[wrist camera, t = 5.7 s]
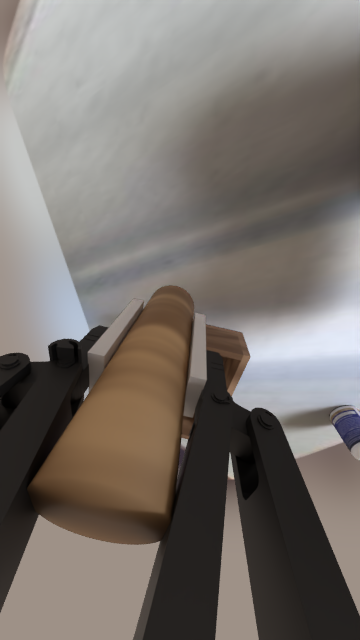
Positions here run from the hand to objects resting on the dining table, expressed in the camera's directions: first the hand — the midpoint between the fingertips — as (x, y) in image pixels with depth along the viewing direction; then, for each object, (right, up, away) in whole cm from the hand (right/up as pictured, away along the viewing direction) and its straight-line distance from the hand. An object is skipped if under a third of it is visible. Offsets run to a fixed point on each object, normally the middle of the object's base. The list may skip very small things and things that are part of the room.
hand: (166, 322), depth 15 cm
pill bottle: (+34, -19, +25) cm, 46 cm away
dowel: (0, +1, +3) cm, 3 cm away
